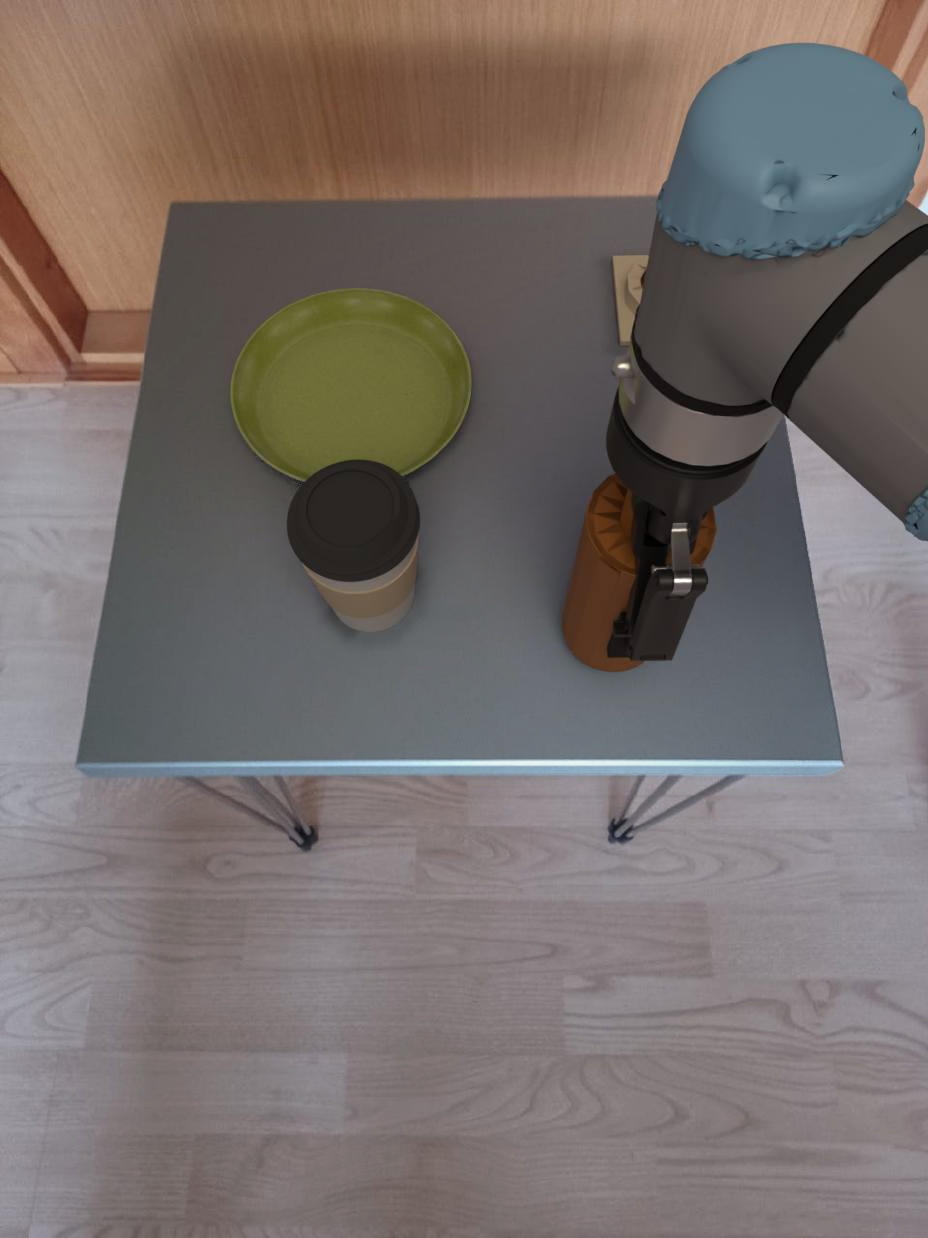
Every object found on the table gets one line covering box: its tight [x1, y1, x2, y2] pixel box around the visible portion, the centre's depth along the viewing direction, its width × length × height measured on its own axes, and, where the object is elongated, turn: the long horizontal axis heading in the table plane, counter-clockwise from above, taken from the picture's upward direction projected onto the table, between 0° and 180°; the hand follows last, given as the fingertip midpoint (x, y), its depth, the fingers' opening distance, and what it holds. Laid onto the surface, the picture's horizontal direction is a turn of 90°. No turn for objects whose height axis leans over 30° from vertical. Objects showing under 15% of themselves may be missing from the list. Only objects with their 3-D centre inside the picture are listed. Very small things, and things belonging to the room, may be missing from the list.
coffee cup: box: [286, 459, 421, 633], centre depth 64 cm, size 9×9×15 cm
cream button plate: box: [611, 254, 649, 347], centre depth 80 cm, size 10×8×2 cm
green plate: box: [229, 287, 472, 483], centre depth 76 cm, size 21×21×3 cm
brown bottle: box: [561, 472, 718, 673], centre depth 56 cm, size 8×8×23 cm
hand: (621, 596), depth 62 cm, fingers closed on brown bottle, 8 cm apart
